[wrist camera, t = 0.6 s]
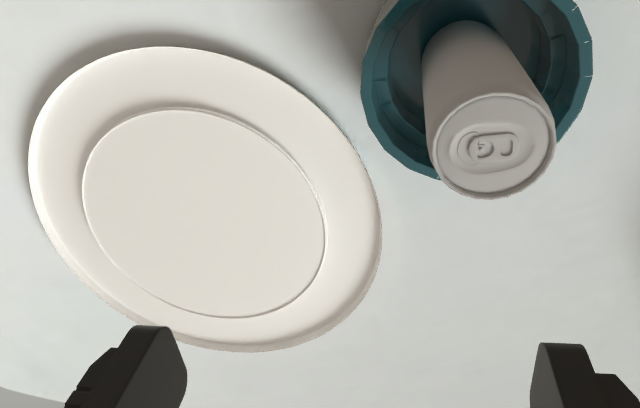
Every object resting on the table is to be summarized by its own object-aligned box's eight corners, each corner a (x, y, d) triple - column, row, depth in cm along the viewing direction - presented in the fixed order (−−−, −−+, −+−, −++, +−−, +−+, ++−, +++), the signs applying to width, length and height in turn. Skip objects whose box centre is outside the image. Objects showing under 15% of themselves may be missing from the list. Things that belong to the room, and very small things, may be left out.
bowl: (346, -13, 27) (335, 4, 23) (559, -77, 24) (590, -72, 20) (389, 159, 33) (387, 197, 29) (568, 123, 30) (594, 161, 26)
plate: (83, 325, 47) (79, 331, 47) (-20, 31, 32) (-28, 34, 32) (368, 364, 44) (367, 371, 44) (402, 57, 29) (402, 61, 28)
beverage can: (418, 23, 28) (424, 96, 18) (507, 11, 27) (566, 80, 17) (423, 103, 30) (430, 206, 20) (504, 94, 29) (555, 198, 19)
